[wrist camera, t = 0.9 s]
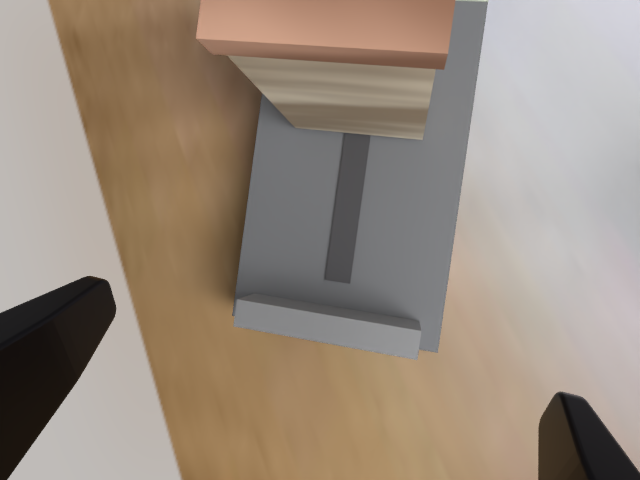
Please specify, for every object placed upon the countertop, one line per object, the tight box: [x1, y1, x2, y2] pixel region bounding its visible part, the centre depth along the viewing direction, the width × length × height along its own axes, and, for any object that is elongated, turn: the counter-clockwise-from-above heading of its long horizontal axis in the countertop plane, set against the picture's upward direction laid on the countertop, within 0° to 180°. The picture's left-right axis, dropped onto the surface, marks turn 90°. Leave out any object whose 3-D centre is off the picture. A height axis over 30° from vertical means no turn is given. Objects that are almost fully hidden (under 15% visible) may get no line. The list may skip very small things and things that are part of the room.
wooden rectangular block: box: [196, 0, 455, 140], centre depth 16 cm, size 3×6×10 cm, turn 82°
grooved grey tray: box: [232, 0, 488, 360], centre depth 21 cm, size 22×10×4 cm, turn 172°
